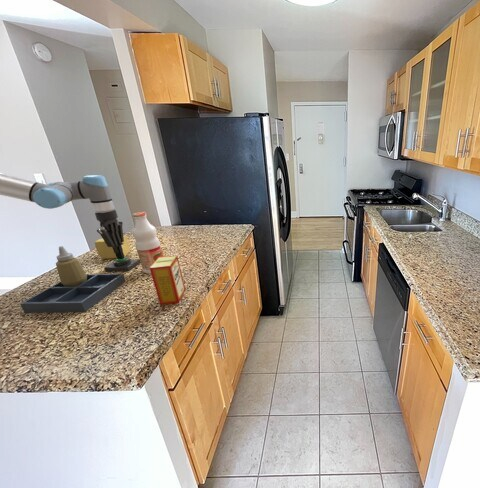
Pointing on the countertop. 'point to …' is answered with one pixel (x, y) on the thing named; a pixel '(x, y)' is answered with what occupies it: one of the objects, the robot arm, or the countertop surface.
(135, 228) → the fruit juice
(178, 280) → the baking soda box
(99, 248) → the cheese
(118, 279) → the compartment tray
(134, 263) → the panel
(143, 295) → the countertop surface
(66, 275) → the squeeze bottle
